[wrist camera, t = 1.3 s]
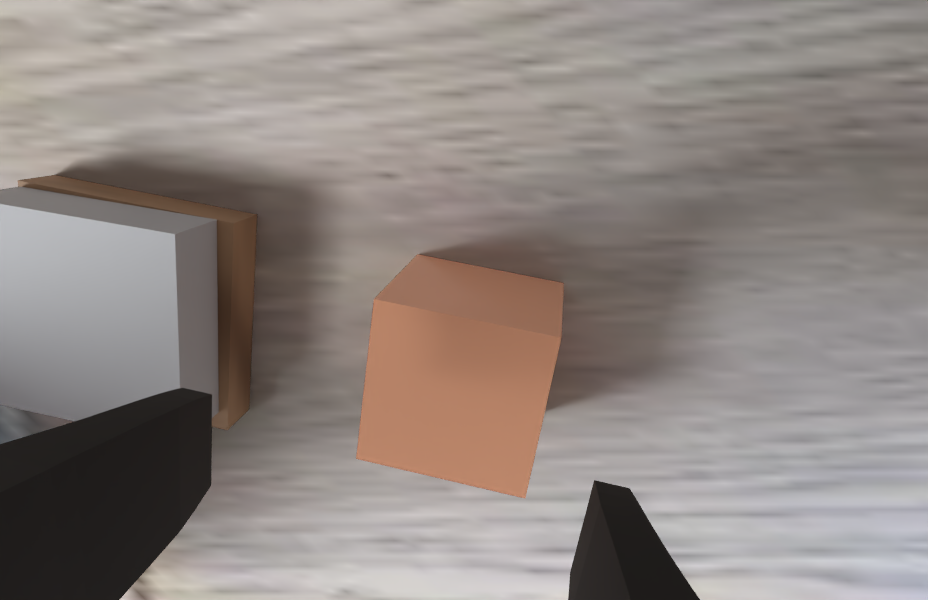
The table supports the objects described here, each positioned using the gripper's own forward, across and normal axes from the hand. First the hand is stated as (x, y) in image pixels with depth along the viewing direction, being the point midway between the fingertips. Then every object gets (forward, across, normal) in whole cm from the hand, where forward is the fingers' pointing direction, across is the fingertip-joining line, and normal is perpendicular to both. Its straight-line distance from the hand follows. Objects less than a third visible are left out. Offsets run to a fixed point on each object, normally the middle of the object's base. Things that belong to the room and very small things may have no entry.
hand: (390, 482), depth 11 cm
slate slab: (+7, +11, +1) cm, 13 cm away
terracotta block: (+9, 0, 0) cm, 9 cm away
